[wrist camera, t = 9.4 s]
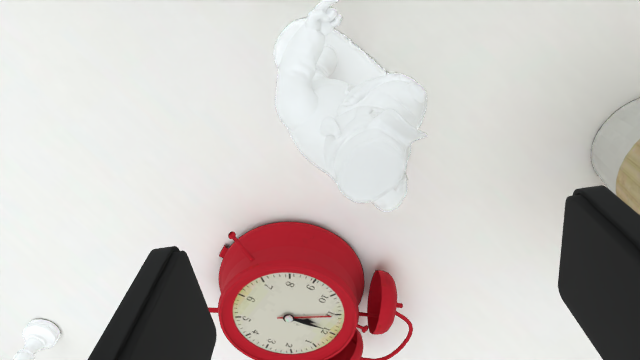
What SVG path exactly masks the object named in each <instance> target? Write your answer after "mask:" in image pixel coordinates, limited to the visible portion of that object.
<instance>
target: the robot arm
mask: <svg viewBox="0 0 640 360" xmlns="http://www.w3.org/2000/svg"><path fill="white" fill-rule="evenodd" d="M558 288H559V293H560V296H561V298H562V300H563V301H564V303H565V304H566V306H567V307H568V309H569V310H570V312H571V313H572V315H573V316H574V317H575V319H576V320H577V322H578V323H579V325H580V326H581V328H582V329H583V331H584V332H585V334H586V335H587V337H588V338H589V340H590V341H591V343H592V344H593V345H594V347H595V348H596V350H597V351H598V353H599V354H600V356H601V357H602V359H603V360H640V215H639V214H638V213H637V212H635V211H634V210H633V209H632V208H631V207H629V206H628V205H627V204H626V203H625V202H624V201H622V200H621V199H620V198H619V197H618V196H616V195H615V194H614V193H613V192H612V191H610V190H609V189H608V188H607V187H605V186H594V187H587V188H580V189H576V190H575V191H574V193H573V196H569V197H567V199H566V203H565V214H564V225H563V236H562V247H561V257H560V268H559V279H558ZM215 342H216V328H215V325H214V322H213V320H212V317H211V315H210V312H209V309H208V307H207V304H206V302H205V299H204V297H203V294H202V291H201V289H200V286H199V284H198V281H197V279H196V276H195V274H194V271H193V268H192V266H191V263H190V261H189V258H188V256H187V254H186V252H185V251H180V250H179V249H178V248H177V247H175V246H173V247H166V248H159V249H153V250H152V251H151V252H150V254H149V255H148V257H147V259H146V260H145V262H144V264H143V266H142V267H141V269H140V271H139V272H138V274H137V276H136V278H135V279H134V281H133V283H132V284H131V286H130V288H129V290H128V291H127V293H126V295H125V296H124V298H123V300H122V302H121V303H120V305H119V307H118V309H117V310H116V312H115V314H114V315H113V317H112V319H111V321H110V322H109V324H108V326H107V327H106V329H105V331H104V333H103V334H102V336H101V338H100V339H99V341H98V343H97V345H96V346H95V348H94V350H93V351H92V353H91V355H90V357H89V358H88V360H211V356H212V353H213V349H214V346H215Z"/></svg>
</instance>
